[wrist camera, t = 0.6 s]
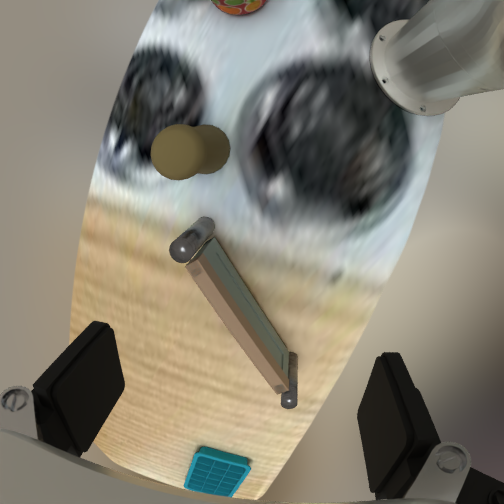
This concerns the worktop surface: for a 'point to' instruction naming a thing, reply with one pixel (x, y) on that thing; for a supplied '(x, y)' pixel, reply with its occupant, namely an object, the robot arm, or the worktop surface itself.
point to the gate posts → (185, 251)
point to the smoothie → (238, 6)
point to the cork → (189, 151)
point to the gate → (240, 313)
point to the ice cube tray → (216, 472)
